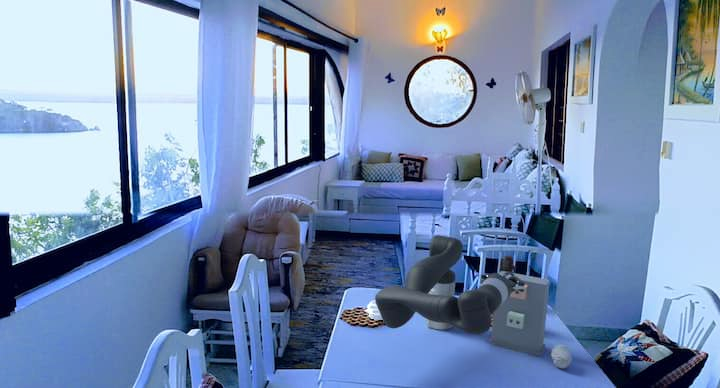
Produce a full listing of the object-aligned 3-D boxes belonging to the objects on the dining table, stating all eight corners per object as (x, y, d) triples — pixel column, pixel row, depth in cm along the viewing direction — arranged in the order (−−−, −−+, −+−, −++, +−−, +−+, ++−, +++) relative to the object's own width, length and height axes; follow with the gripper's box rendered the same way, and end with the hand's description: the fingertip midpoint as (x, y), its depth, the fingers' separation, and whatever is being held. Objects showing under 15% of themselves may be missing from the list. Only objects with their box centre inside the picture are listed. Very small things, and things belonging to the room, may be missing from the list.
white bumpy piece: (399, 325, 191) (360, 321, 194) (405, 307, 209) (369, 303, 211) (400, 317, 191) (360, 312, 193) (405, 299, 208) (369, 295, 211)
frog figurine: (565, 361, 167) (567, 341, 166) (574, 372, 160) (577, 351, 159) (546, 361, 167) (548, 340, 166) (555, 372, 160) (557, 351, 159)
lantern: (516, 303, 216) (522, 232, 211) (513, 310, 209) (519, 237, 204) (496, 300, 219) (502, 230, 214) (492, 306, 212) (498, 234, 207)
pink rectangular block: (524, 300, 167) (525, 288, 166) (508, 296, 169) (509, 284, 169) (526, 296, 170) (527, 285, 169) (511, 293, 172) (512, 282, 172)
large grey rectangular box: (540, 356, 170) (547, 286, 166) (488, 343, 178) (494, 275, 174) (545, 347, 177) (551, 279, 173) (495, 335, 185) (500, 269, 181)
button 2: (521, 329, 169) (522, 317, 168) (506, 325, 171) (507, 314, 170) (524, 325, 171) (525, 314, 171) (508, 322, 174) (509, 310, 173)
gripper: (519, 283, 137) (534, 266, 152) (470, 273, 144) (489, 258, 158) (517, 310, 138) (531, 291, 153) (469, 299, 145) (487, 282, 160)
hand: (510, 274), depth 156 cm, fingers closed
